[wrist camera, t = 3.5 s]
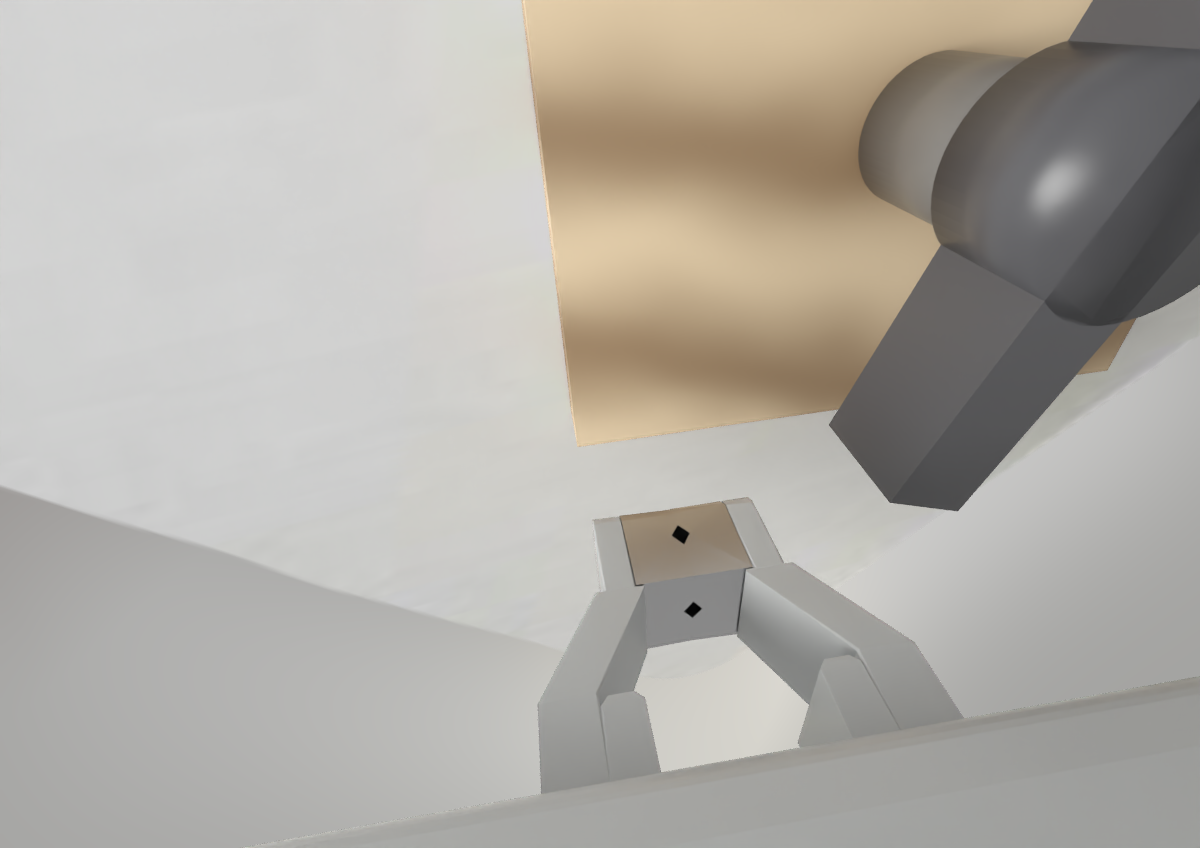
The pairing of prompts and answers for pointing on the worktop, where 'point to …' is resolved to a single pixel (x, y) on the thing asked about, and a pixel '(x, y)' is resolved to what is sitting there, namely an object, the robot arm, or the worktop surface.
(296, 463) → the worktop surface
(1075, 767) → the robot arm
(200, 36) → the worktop surface
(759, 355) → the tuner board
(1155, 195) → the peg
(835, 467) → the worktop surface
